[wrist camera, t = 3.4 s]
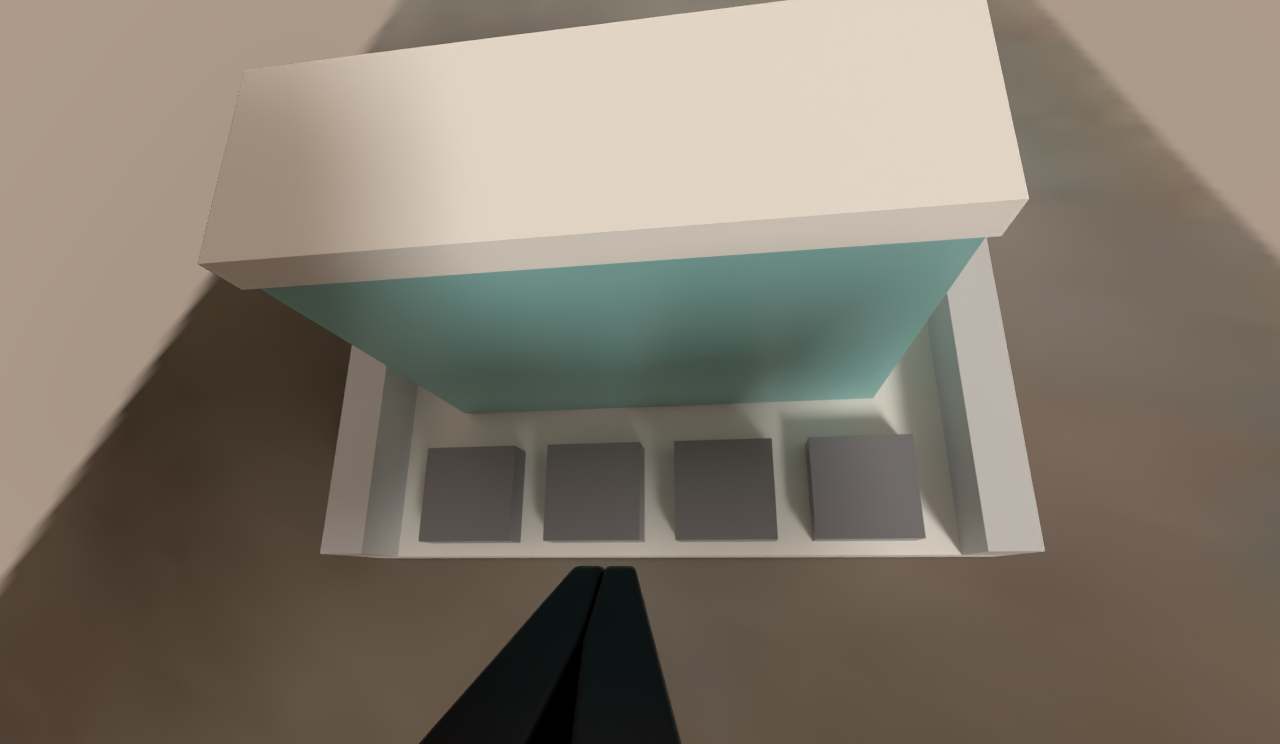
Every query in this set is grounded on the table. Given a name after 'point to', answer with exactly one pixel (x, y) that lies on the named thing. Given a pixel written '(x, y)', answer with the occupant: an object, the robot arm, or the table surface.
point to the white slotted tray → (703, 465)
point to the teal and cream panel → (630, 201)
